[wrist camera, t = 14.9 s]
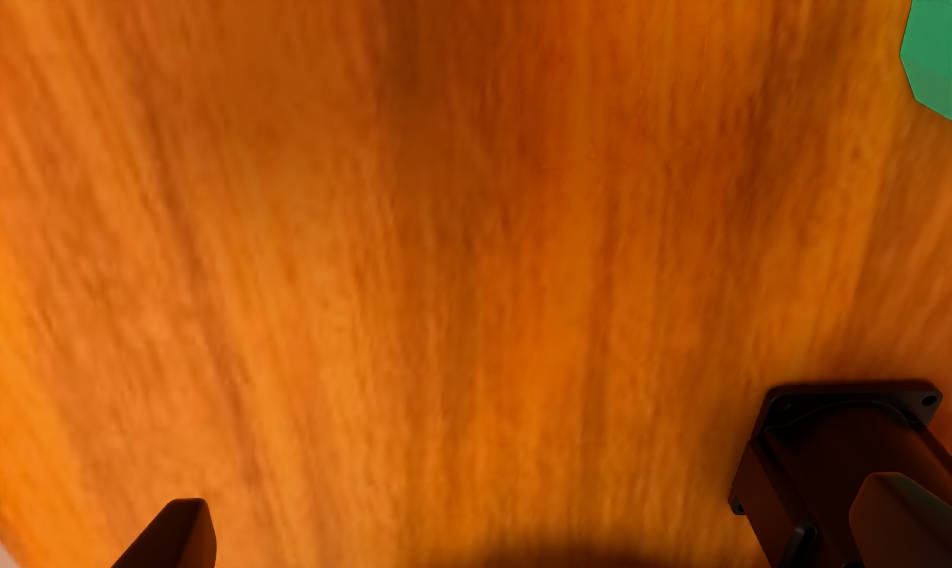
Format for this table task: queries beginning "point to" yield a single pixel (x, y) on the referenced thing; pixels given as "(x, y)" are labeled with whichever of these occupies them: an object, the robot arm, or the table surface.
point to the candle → (930, 54)
